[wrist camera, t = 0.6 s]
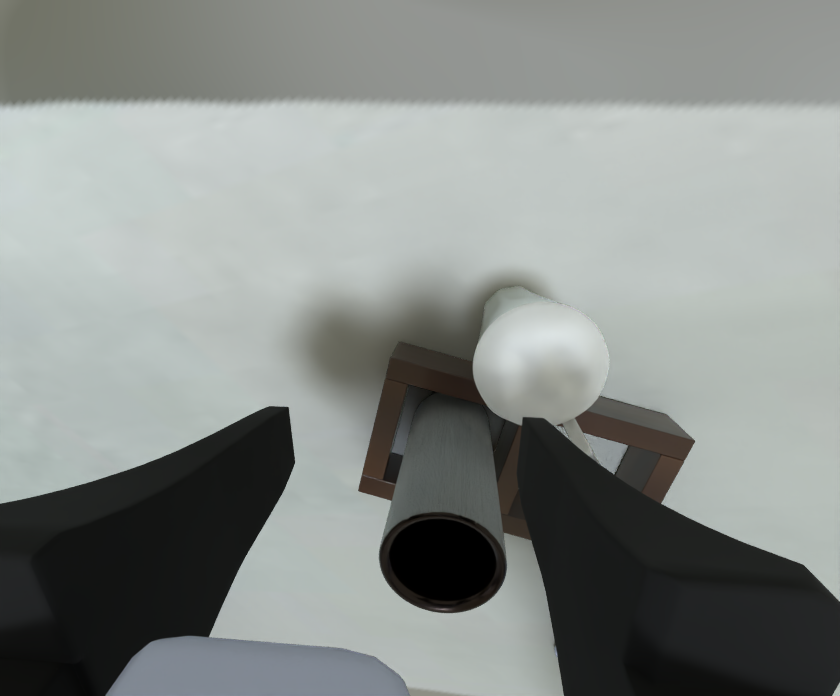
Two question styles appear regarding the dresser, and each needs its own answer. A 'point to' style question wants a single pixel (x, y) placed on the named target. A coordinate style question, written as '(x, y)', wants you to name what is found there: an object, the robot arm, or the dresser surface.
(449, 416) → the grey hollow cylinder
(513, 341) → the milkshake
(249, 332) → the dresser surface
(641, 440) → the holder
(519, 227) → the dresser surface
